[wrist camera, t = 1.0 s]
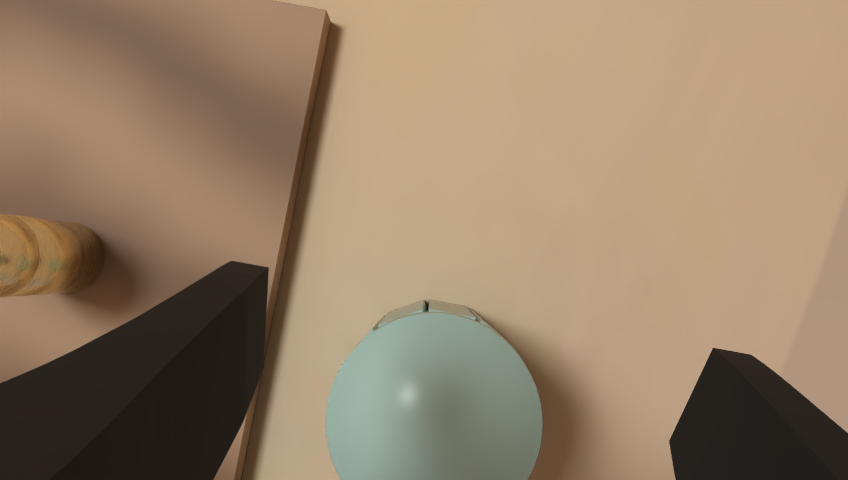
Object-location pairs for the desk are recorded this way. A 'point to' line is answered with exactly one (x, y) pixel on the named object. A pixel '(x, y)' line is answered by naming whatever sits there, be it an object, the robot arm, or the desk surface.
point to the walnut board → (152, 152)
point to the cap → (434, 401)
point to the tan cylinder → (47, 256)
